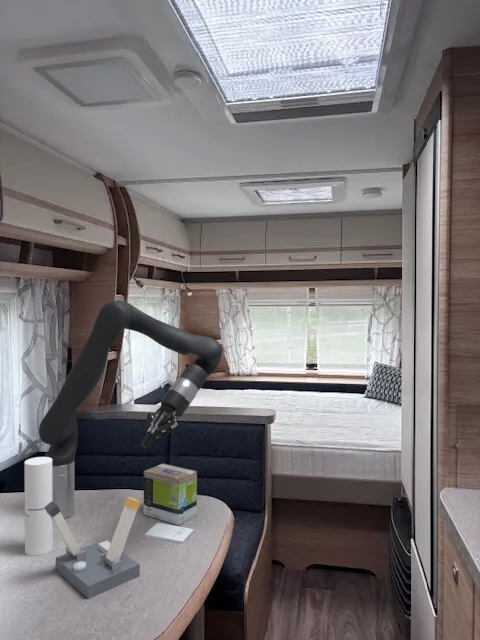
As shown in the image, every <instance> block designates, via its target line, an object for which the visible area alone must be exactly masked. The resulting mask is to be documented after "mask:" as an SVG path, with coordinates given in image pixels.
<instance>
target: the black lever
mask: <svg viewBox="0 0 480 640" xmlns="http://www.w3.org/2000/svg"><path fill="white" fill-rule="evenodd" d="M44 508H45V510H46V512H47V513H48V514H49V516H50V518H51V520H52V524H53V525H54V527H55V529H56V530H57V532H58V534H59V536H60V538H61V540H62V542H63V543H64V545H65V548H66V547H67V549H68V551H69V552H70V553H71V554H72V555H74V556H77V553H79V552H80V551H81V548H80V546H79V544H78V542H77V540H76V538H75V536H74V535H73V533H72V531H71V529H70V527H69V525H68V523H67V522H66V519H64V518H63V516H62V514H61V511H60V509H59V507H58V505H56V504H55V503H54V502H50V503H49V504H48V505H46V506H45V507H44Z"/></svg>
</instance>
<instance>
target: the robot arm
mask: <svg viewBox="0 0 480 640" xmlns="http://www.w3.org/2000/svg"><path fill="white" fill-rule="evenodd" d="M124 329H125V330H129V331H132V332H137V333H139V334H142V335H144V336H146V337H148V338H150V339H151V340H153V341H154V342H156V343H157V344H158V345H160V346H162V347H164V348H166V349H167V350H171V351H173V352H175V353H177V354H180V355H182V356H187V355H190V354H192V355H195V356H197V357H196V358H195V359H194V361H193V362H192V363H190V364H189V365H187V366H186V367H185V369H183V371H182V372H181V374H180V375H179V376H178V378H177V379H176V380H175V381H174V382H173V383H172V385H171V386H170V388H169V389H168V390H167V392H166V393H165V394H164V396H163V397H162V398H161V400H160V406H159V407H158V409H156V411H155V412H154V413H152V412H149V413H147V415H146V419H145V420H146V421H145V425H144V429H145V430H146V434H145V436H144V437H143V439H141V440H140V445H141V446H142V447H143V448H144V449H147V450H148V449H149V448H150V447H151V446H152V445H153V443H154V442H155V441H156V440H157V439H158V438H162V439H163V438H164V437H166V436H167V435H169V434H170V433H172V432H174V431H175V430H176V429H178V428H179V426H180V425H179V424H178V422H177V420H178V418H180V417H182V416H184V414H185V412H186V411H187V409H188V408H189V406H190V405H191V403H192V402H193V401H194V399H195V398H196V397H197V395H198V392H199V391H200V389H201V388H202V386H203V385H204V383H205V382H206V381H207V379H208V378H209V377H210V376H211V375H212V374H213V373H214V371H215V370H216V369H217V367H218V366H219V364H220V363H221V360H222V355H223V346H222V344H221V343H220V342H219V341H218V340H216V339H214V338H212V337H210V336H205V335H199V334H192V333H190V332H188V331H185V330H183V329H181V328H179V327H176V326H174V325H171V324H168V323H166V322H164V321H162V320H159V319H157V318H154V317H152V316H151V315H149V314H147V313H145V312H144V311H142V310H141V309H138V308H137V307H136V306H134V305H133V304H131V303H129V302H127V301H126V300H120V299H119V300H112V301H107V302H106V303H105V304H103V306H102V307H101V308H100V310H99V312H98V314H97V317H96V318H95V322H94V325H93V327H92V330H91V331H90V335H89V337H88V338H87V340H86V342H85V344H84V345H83V347H82V349H81V351H80V352H79V354H78V356H77V358H76V359H75V361H74V363H73V365H72V367H71V368H70V371H69V373H68V375H67V377H66V379H65V381H64V383H63V385H62V386H61V389H60V391H59V392H58V395H57V396H56V398H55V399H54V401H53V403H52V404H51V406H50V407H49V409H48V411H47V413H45V415H44V417H43V419H41V421H40V424H39V427H38V436H39V439H40V440H41V442H42V443H44V444H46V445H50V446H49V448H48V450H47V451H46V453H45V454H44V456H43V457H49V458H52V502H54V503H55V504H56V505H58V507H59V509H60V511H61V514H62V516H63V518H64V520H66V519H68V518H70V517H72V516H73V515H74V514H75V457H76V456H75V455H76V453H77V449H78V434H79V433H78V432H79V430H78V429H79V428H78V421H77V418H76V417H75V415H74V413H75V412H76V410H77V409H78V408H79V407H80V405H81V404H82V403H83V402H84V401H85V400H86V399H87V398H88V397H89V396H90V395H91V394H92V392H93V391H94V390H95V388H97V387H96V386H97V385H98V384H99V381H100V379H101V378H102V376H103V374H104V372H105V369H106V365H107V361H108V355H109V351H110V348H111V347H112V344H113V343H114V341H115V340H116V338H117V337H118V335H119V334H120V332H121V331H122V330H124Z"/></svg>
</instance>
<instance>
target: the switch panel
mask: <svg viewBox="0 0 480 640" xmlns="http://www.w3.org/2000/svg"><path fill="white" fill-rule="evenodd" d="M110 544H111V542H110V541H109V540H106V539H103V540H100V541H98V542H96V543H91V544H90V545H87V546H84V547H82V548H80V549H81V551H80V552H79V553H77V556H74V555H72V554H71V553H70V552H69V551H68V549H67V547H66V546H65V549H66V550H65V551H66V552H65V554H62V555H59V556H57V557H55V570H56V571H57V572H58V573H59V574H61V575H62V577H64V578H65V579H66V580H67V581H68V583H71V585H72V586H74V587H75V588H76V589H77V590H78V591H79V592H80V593H81V594H82V595H83V596H85V597H86V598H87V600H89V599H91V598H93V597H95V596H98V595H101V594H102V593H104V592H106V591H109V590H111V589H113V588H116V587H118V586H120V585H122V584H124V583H127V582H130V581H131V580H133V579H136V578H138V577H140V571H141V567H140V563H138V562H137V561H136V560H134V559H133V558H131V557H130V556H128V555H127V554H125V553H124V551H122V554H121V556H120V559H119V561H117V562H114V563H112V567H111V566H110V565H109V564H107V563H106V562H105V561H104V560H105V558H106V555H107V552H108V549H109V547H110Z"/></svg>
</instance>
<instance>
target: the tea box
mask: <svg viewBox="0 0 480 640" xmlns="http://www.w3.org/2000/svg"><path fill="white" fill-rule="evenodd" d="M197 473H198V471H197V470H194V469H189V468H183V467H180V466H175V465H171V464H166V463H161V464H159V465H155V466H154V467H151V468H149V469H145V470H144V471H143V515H145V516H149V517H150V518H154V519H156V520H160V521H163V522H167V523H170V524H172V525H175V526H179V525H182V524H184V523H185V522H187V521H189V520H190V519H192V518H194V517H195V516H196V515H197V513H198V512H197V511H198V510H197V508H198V507H197V506H198V500H197V499H198V497H197V496H198V491H197V490H198V488H197V487H198V474H197Z"/></svg>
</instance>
